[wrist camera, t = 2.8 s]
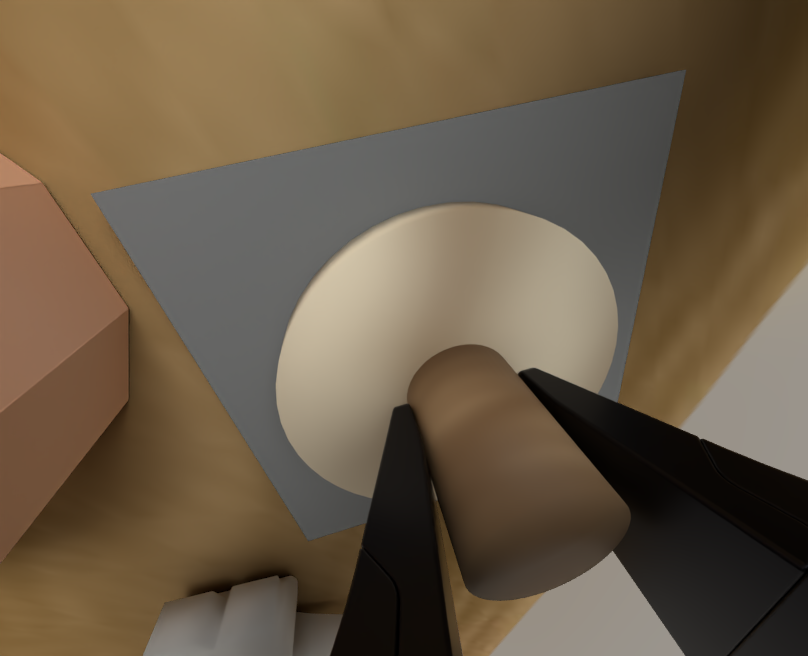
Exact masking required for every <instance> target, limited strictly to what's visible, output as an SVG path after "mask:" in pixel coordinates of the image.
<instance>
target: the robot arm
mask: <svg viewBox="0 0 808 656" xmlns="http://www.w3.org/2000/svg"><path fill="white" fill-rule="evenodd" d="M518 376H519V377H520V378H521V379H522V380H523V382H524V383H525V384H526V385H527V386H528V388H529V389H530V390H531V391H532V392H533V394H534V395H535V396H536V397H537V398H538V400H539V401H540V402H541V403H542V404H543V405H544V407H545V408H546V409H547V410H548V411H549V413H550V414H551V415H552V416H553V417H554V419H555V420H556V421H557V422H558V423H559V425H560V426H561V427H562V428H563V429H564V430H565V432H566V433H567V434H568V435H569V436H570V438H571V439H572V440H573V441H574V442H575V444H576V445H577V446H578V447H579V448H580V450H581V451H582V452H583V453H584V454H585V455H586V457H587V458H588V459H589V460H590V461H591V463H592V464H593V465H594V466H595V467H596V469H597V470H598V471H599V472H600V473H601V475H602V476H603V477H604V478H605V479H606V481H607V482H608V483H609V484H610V485H611V486H612V488H613V489H614V490H615V491H616V492H617V494H618V495H619V496H620V497H621V498H622V500H623V501H624V502H625V503H626V505H627V506H628V507H629V510H630V513H631V520H630V525H629V527H628V530H627V532H626V534H625V536H624V537H623V539H622V540H621V541H620V543H619V544H618V545H617V546H616V547H615V549H614V550H613V552H614V553H615V554H616V556H617V557H618V559H619V560H620V562H621V563H622V565H623V566H624V567H625V569H626V570H627V572H628V573H629V575H630V576H631V577H632V579H633V581H634V582H635V583H636V585H637V586H638V588H639V589H640V591H641V592H642V594H643V595H644V597H645V598H646V599H647V601H648V602H649V604H650V605H651V606H652V608H653V610H654V611H655V612H656V614H657V615H658V617H659V618H660V620H661V621H662V623H663V624H664V626H665V627H666V628H667V630H668V631H669V633H670V634H671V636H672V637H673V638H674V640H675V641H676V643H677V644H678V646H679V647H680V649H681V650H682V651H683V653H684V655H685V656H808V480H805V479H802V478H800V477H797V476H795V475H792V474H789V473H786V472H783V471H781V470H778V469H776V468H773V467H771V466H768V465H765V464H763V463H760V462H758V461H756V460H753V459H751V458H748V457H746V456H743V455H741V454H738V453H736V452H733V451H731V450H728V449H726V448H724V447H721V446H719V445H717V444H714V443H712V442H709V441H707V440H705V439H699V438H698V437H697V436H695V435H693V434H690V433H688V432H686V431H683V430H681V429H679V428H676V427H674V426H672V425H669V424H667V423H665V422H662V421H660V420H658V419H655V418H653V417H650V416H648V415H646V414H643V413H641V412H639V411H636V410H634V409H632V408H629V407H627V406H625V405H622V404H620V403H618V402H615V401H613V400H610V399H608V398H606V397H603V396H601V395H599V394H596V393H594V392H592V391H589V390H587V389H585V388H582V387H580V386H578V385H575V384H573V383H570V382H568V381H566V380H563V379H561V378H559V377H556V376H554V375H552V374H549V373H547V372H545V371H542V370H540V369H538V368H529V369H525V370H522V371H520V372H519V373H518ZM361 547H362V548H361V549H360V551H359V555H358V559H357V564H356V568H355V572H354V576H353V580H352V583H351V587H350V591H349V595H348V599H347V602H346V606H345V609H344V612H343V616H342V619H341V622H340V625H339V628H338V631H337V635H336V638H335V641H334V644H333V647H332V650H331V653H330V656H463V655H462V649H461V643H460V637H459V632H458V626H457V620H456V614H455V608H454V603H453V597H452V591H451V585H450V579H449V574H448V568H447V562H446V556H445V550H444V545H443V539H442V533H441V527H440V521H439V516H438V510H437V504H436V499H435V494H434V490H433V485H432V481H431V477H430V472H429V468H428V463H427V458H426V454H425V449H424V445H423V440H422V437H421V434H420V431H419V428H418V425H417V422H416V420H415V417H414V414H413V411H412V408H411V406H410V404H408V403H406V404H403V405H400V406H396V407H394V408H393V411H392V415H391V419H390V424H389V428H388V432H387V436H386V441H385V445H384V449H383V453H382V458H381V462H380V466H379V471H378V475H377V479H376V483H375V488H374V492H373V496H372V500H371V505H370V509H369V513H368V517H367V522H366V526H365V530H364V535H363V539H362V543H361Z"/></svg>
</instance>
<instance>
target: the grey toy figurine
mask: <svg viewBox="0 0 808 656" xmlns="http://www.w3.org/2000/svg"><path fill="white" fill-rule="evenodd" d="M297 597H298V581H297V579H296V578H295V577H293V576H288V577H284V578H279V577H278V575H277V576H273V577H269V578H265V579H261V580H257V581H252V582H248V583H244V584H240V585H236V586H233V587H232V589H231V590H230V591H226V592H222V593H218V594H217V593H215V592H213V591H211V592H207V593H203V594H199V595H194V596H190V597H186V598H182V599H178V600H174V601H170V602H165V603H164V606H163V608H162V610H161V613H160V615H159V618H158V620H157V623H156V625H155V627H154V630H153V632H152V635H151V637H150V639H149V642H148V644H147V647H146V649H145V652H144V654H143V656H330V653H331V650H332V647H333V644H334V641H335V638H336V635H337V631H338V628H339V625H340V622H341V619H342V616H343V614H311V613H302V612H296V608H297Z"/></svg>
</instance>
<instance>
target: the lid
mask: <svg viewBox="0 0 808 656" xmlns="http://www.w3.org/2000/svg"><path fill="white" fill-rule="evenodd" d="M617 332H618V313H617V304H616V300H615V295H614V290H613V288H612V285H611V283H610V280H609V278H608V275H607V273H606V271H605V270H604V268H603V267H602V265H601V263H600V262H599V260H598V259H597V257H596V256H595V255H594V254H593V253H592V252H591V251H590V250H589V248H588V247H587V246H586V245H585V244H584V243H583V242H582V241H580V240H579V239H578V238H576V237H575V236H574V235H572V234H571V233H570V232H568V231H567V230H565V229H564V228H562V227H559V226H557V225H555V224H553V223H551V222H549V221H547V220H545V219H542V218H539V217H536V216H533V215H530V214H527V213H524V212H521V211H518V210H515V209H511V208H508V207H504V206H501V205H497V204H489V203H481V202H447V203H441V204H436V205H430V206H424V207H420V208H417V209H414V210H411V211H408V212H404V213H401V214H398V215H396V216H393V217H391V218H389V219H387V220H385V221H383V222H381V223H379V224H377V225H374V226H372V227H371V228H369V229H368V230H366V231H365V232H363V233H362V234H360V235H358V236H357V237H355V238H354V239H352V240H351V241H349V242H348V243H347V244H346V245H345V246H343V247H342V248H341V249H340V250H339V251H338V252H336V253H335V254H334V255H333V256H332V257H331V258H330V259H329V260H328V261H327V262H326V263H325V264H324V265H323V266H322V268H321V269H320V270H319V271H318V272H317V273H316V274H315V275H314V277H313V278H312V279H311V281H310V282H309V284H308V285H307V287H306V288H305V290H304V291H303V293H302V294H301V296H300V297H299V299H298V302H297V304H296V306H295V308H294V310H293V312H292V314H291V317H290V319H289V322H288V325H287V329H286V332H285V336H284V339H283V344H282V348H281V353H280V357H279V362H278V369H277V378H276V399H277V408H278V412H279V416H280V420H281V424H282V427H283V429H284V431H285V433H286V436H287V438H288V440H289V442H290V443H291V445H292V446H293V448H294V449H295V451H296V452H297V454H298V455H299V456H300V458H301V459H302V460H303V461H304V462H305V463H306V464H307V465H308V466H309V467H310V468H311V469H312V470H314V471H315V472H316V473H317V474H319V475H320V476H321V477H322V478H324V479H325V480H327V481H329V482H331V483H332V484H334V485H336V486H338V487H340V488H342V489H345V490H347V491H349V492H352V493H354V494H358V495H361V496H365V497H368V498H372V496H373V492H374V488H375V483H376V479H377V475H378V471H379V466H380V462H381V458H382V453H383V449H384V445H385V441H386V436H387V432H388V428H389V424H390V419H391V415H392V411H393V408H394V407H396V406H400V405H403V404H406V403H408V404H410V406H411V408H412V411H413V414H414V417H415V420H416V422H417V425H418V428H419V431H420V434H421V437H422V440H423V445H424V449H425V454H426V458H427V463H428V468H429V472H430V477H431V481H432V485H433V490H434V494H435V499H436V500H438V502H439V505H440V508H441V511H442V514H443V518H444V521H445V524H446V527H447V530H448V533H449V537H450V540H451V543H452V546H453V549H454V552H455V555H456V559H457V562H458V565H459V568H460V571H461V574H462V578H463V581H464V584H465V586H466V588H467V589H468V591H469V592H470V593H472V594H473V595H475V596H477V597H479V598H482V599H487V600H497V601H502V600H514V599H520V598H525V597H529V596H533V595H537V594H540V593H543V592H546V591H548V590H551V589H554V588H556V587H558V586H560V585H563V584H565V583H567V582H569V581H571V580H572V579H575V578H576V577H578V576H580V575H582V574H583V573H585V572H586V571H588V570H589V569H591V568H592V567H594V566H595V565H596V564H598V563H599V562H600V561H602V560H603V559H604V558H605V557H606V556H607V555H608V554H609V553H610V552H611V551H613V550H614V549H615V547H616V546H617V545H618V544H619V543H620V541H621V540H622V539H623V537H624V536H625V534H626V532H627V530H628V527H629V525H630V520H631V513H630V510H629V507H628V506H627V505H626V503H625V502H624V501H623V500H622V498H621V497H620V496H619V495H618V494H617V492H616V491H615V490H614V489H613V488H612V486H611V485H610V484H609V483H608V482H607V481H606V479H605V478H604V477H603V476H602V475H601V473H600V472H599V471H598V470H597V469H596V467H595V466H594V465H593V464H592V463H591V461H590V460H589V459H588V458H587V457H586V455H585V454H584V453H583V452H582V451H581V450H580V448H579V447H578V446H577V445H576V444H575V442H574V441H573V440H572V439H571V438H570V436H569V435H568V434H567V433H566V432H565V430H564V429H563V428H562V427H561V426H560V425H559V423H558V422H557V421H556V420H555V419H554V417H553V416H552V415H551V414H550V413H549V411H548V410H547V409H546V408H545V407H544V405H543V404H542V403H541V402H540V401H539V400H538V398H537V397H536V396H535V395H534V394H533V392H532V391H531V390H530V389H529V388H528V386H527V385H526V384H525V383H524V382H523V380H522V379H521V378H520V377H519V376H518V373H519V372H520V371H522V370H525V369H529V368H538V369H540V370H542V371H545V372H547V373H549V374H552V375H554V376H556V377H559V378H561V379H563V380H566V381H568V382H570V383H573V384H575V385H578V386H580V387H582V388H585V389H587V390H589V391H592V392H594V393H596V394H598V393H599V391H600V389H601V387H602V385H603V383H604V381H605V379H606V376H607V374H608V371H609V368H610V366H611V363H612V360H613V356H614V351H615V347H616V342H617Z"/></svg>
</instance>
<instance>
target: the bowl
mask: <svg viewBox="0 0 808 656" xmlns="http://www.w3.org/2000/svg"><path fill="white" fill-rule="evenodd" d="M128 400H129V308H128V307H127V305H126V304H125V303H124V301H123V300H122V298H121V297H120V295H119V294H118V292H117V291H116V289H115V288H114V286H113V285H112V284H111V282H110V281H109V279H108V278H107V276H106V275H105V273H104V272H103V270H102V269H101V268H100V266H99V265H98V263H97V262H96V260H95V259H94V257H93V256H92V254H91V253H90V252H89V250H88V249H87V247H86V246H85V244H84V243H83V241H82V240H81V238H80V237H79V236H78V234H77V233H76V231H75V230H74V228H73V227H72V225H71V224H70V222H69V221H68V219H67V218H66V217H65V215H64V214H63V212H62V211H61V209H60V208H59V206H58V205H57V203H56V202H55V201H54V199H53V198H52V196H51V195H50V193H49V192H48V190H47V189H46V187H45V186H44V185H43V183H42V182H41V181H39V180H38V179H36V178H35V177H33V176H32V175H31V174H29V173H28V172H26V171H25V170H24V169H22V168H21V167H19V166H18V165H16V164H15V163H14V162H12V161H11V160H9V159H8V158H6V157H5V156H4V155H2V154H1V153H0V563H1V562H2V561H3V560H4V558H5V557H6V556H7V554H8V553H9V552H10V551H11V549H12V548H13V547H14V545H15V544H16V543H17V542H18V540H19V539H20V538H21V537H22V535H23V534H24V533H25V531H26V530H27V529H28V528H29V526H30V525H31V524H32V523H33V521H34V520H35V519H36V517H37V516H38V515H39V514H40V512H41V511H42V510H43V508H44V507H45V506H46V505H47V503H48V502H49V501H50V500H51V498H52V497H53V496H54V494H55V493H56V492H57V491H58V489H59V488H60V487H61V485H62V484H63V483H64V482H65V480H66V479H67V478H68V477H69V475H70V474H71V473H72V471H73V470H74V469H75V468H76V466H77V465H78V464H79V462H80V461H81V460H82V459H83V457H84V456H85V455H86V454H87V452H88V451H89V450H90V448H91V447H92V446H93V445H94V443H95V442H96V441H97V440H98V438H99V437H100V436H101V434H102V433H103V432H104V431H105V429H106V428H107V427H108V425H109V424H110V423H111V422H112V420H113V419H114V418H115V417H116V415H117V414H118V413H119V411H120V410H121V409H122V408H123V406H124V405H125V404H126V402H127V401H128Z"/></svg>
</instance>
